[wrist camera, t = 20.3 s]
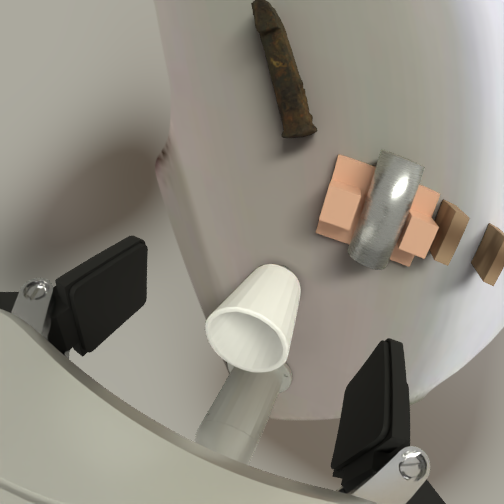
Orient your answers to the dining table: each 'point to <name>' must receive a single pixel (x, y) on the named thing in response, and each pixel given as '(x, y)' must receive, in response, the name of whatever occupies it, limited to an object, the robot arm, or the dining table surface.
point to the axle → (385, 210)
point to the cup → (257, 320)
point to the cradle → (352, 201)
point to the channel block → (449, 235)
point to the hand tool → (283, 72)
